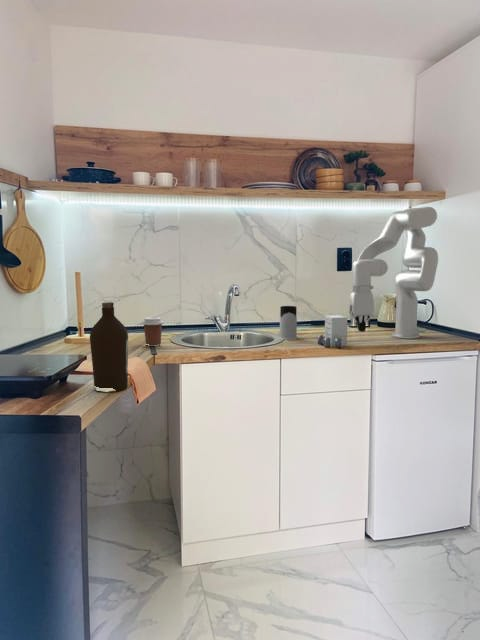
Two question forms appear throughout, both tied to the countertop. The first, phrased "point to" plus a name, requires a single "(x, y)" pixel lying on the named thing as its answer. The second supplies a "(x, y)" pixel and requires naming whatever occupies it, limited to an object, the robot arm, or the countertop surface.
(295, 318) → the glass holder
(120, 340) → the olive oil
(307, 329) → the countertop surface
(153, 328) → the coffee cup
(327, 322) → the supplement box
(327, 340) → the stub cradle
